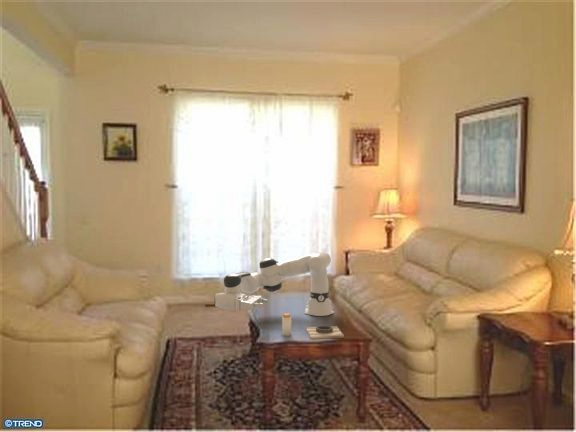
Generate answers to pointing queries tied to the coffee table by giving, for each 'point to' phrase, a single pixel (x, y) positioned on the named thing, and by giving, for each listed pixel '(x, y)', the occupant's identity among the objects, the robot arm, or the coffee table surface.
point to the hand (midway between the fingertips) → (265, 303)
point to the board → (324, 332)
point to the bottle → (286, 324)
